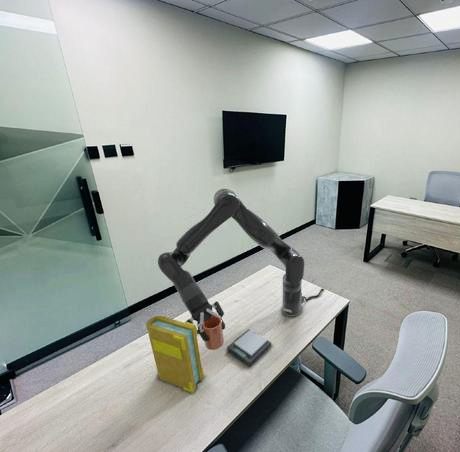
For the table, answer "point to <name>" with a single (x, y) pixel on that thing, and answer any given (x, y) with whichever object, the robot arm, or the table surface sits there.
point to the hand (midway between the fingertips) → (216, 334)
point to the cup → (214, 332)
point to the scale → (249, 347)
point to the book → (175, 351)
